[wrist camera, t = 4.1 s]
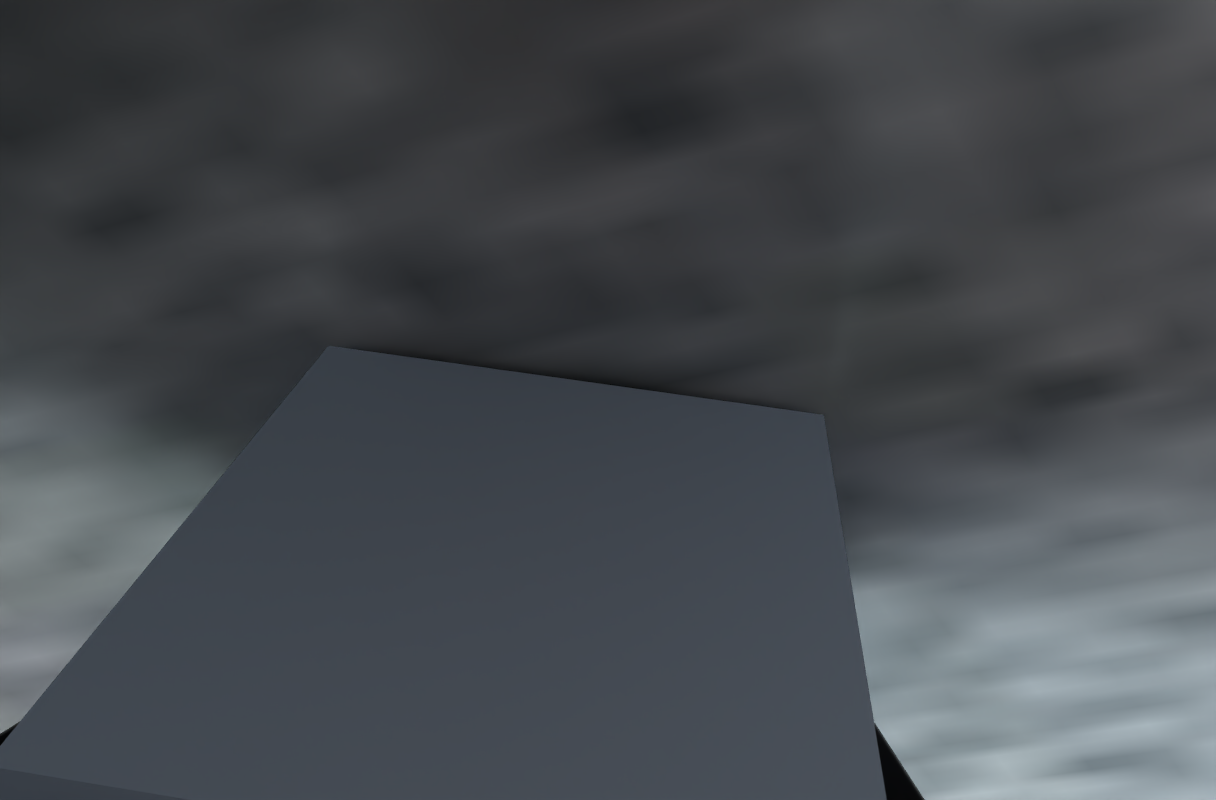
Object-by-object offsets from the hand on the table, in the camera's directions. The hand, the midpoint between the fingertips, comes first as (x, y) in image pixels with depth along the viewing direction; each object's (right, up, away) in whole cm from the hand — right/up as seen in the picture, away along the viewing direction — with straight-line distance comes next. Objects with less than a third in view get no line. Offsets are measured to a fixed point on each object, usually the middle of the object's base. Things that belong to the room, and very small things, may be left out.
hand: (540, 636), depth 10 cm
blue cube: (0, +1, +1) cm, 1 cm away
